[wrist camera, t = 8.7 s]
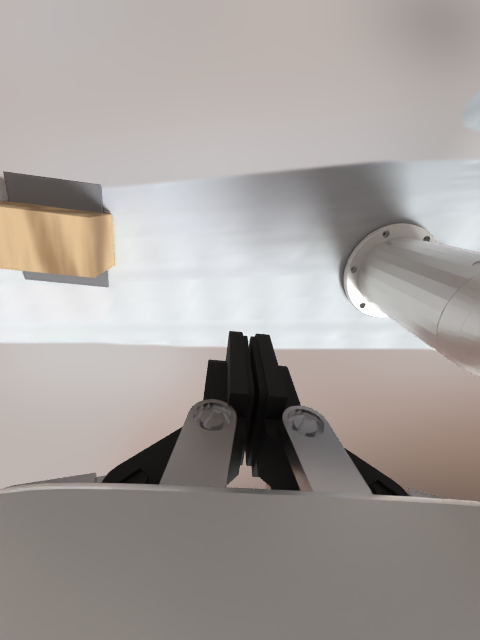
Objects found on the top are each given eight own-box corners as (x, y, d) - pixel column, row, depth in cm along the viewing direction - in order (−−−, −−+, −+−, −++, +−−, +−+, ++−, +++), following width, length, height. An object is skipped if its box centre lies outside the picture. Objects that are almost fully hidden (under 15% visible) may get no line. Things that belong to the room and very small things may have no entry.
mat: (101, 184, 30) (100, 184, 30) (108, 286, 35) (107, 287, 35) (5, 171, 29) (3, 171, 29) (26, 278, 34) (24, 279, 34)
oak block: (88, 217, 26) (-49, 200, 25) (94, 277, 28) (-31, 265, 27) (111, 214, 32) (0, 200, 30) (114, 265, 34) (11, 254, 33)
